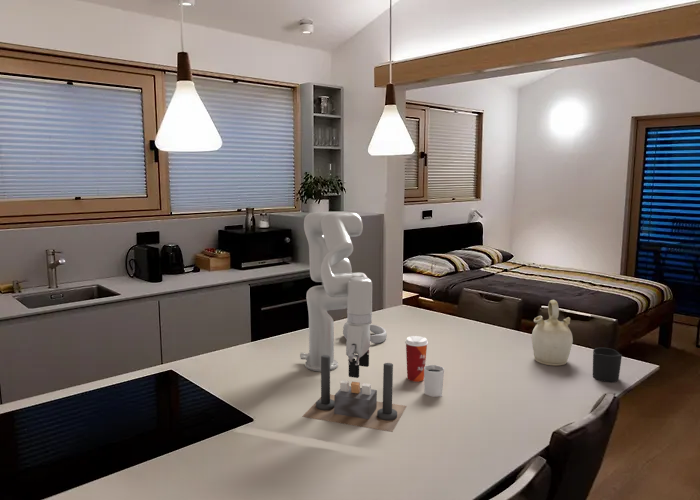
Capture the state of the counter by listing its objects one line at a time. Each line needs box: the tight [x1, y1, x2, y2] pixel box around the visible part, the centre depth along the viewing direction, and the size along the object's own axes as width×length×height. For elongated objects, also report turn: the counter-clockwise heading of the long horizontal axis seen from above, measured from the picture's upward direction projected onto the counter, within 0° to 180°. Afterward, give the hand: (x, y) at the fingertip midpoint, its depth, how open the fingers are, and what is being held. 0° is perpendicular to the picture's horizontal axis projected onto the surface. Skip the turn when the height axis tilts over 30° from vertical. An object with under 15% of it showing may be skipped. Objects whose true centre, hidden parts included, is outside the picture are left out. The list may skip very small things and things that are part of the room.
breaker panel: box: [302, 385, 408, 433], centre depth 163 cm, size 28×18×8 cm, turn 71°
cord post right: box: [377, 362, 397, 421], centre depth 159 cm, size 6×6×16 cm
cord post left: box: [315, 355, 334, 411], centre depth 166 cm, size 6×6×16 cm
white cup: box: [423, 364, 445, 398], centre depth 177 cm, size 7×7×10 cm
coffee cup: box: [404, 335, 429, 383], centre depth 193 cm, size 8×8×15 cm
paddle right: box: [361, 382, 372, 395], centre depth 161 cm, size 2×1×3 cm, turn 71°
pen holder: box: [592, 347, 623, 383], centre depth 195 cm, size 9×9×10 cm
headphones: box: [342, 321, 388, 344], centre depth 240 cm, size 18×8×20 cm
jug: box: [531, 299, 574, 367], centre depth 212 cm, size 15×16×25 cm
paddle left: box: [339, 379, 350, 392], centre depth 163 cm, size 2×1×3 cm, turn 71°
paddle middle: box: [350, 381, 361, 394], centre depth 162 cm, size 2×1×3 cm, turn 71°
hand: (358, 371), depth 165 cm, fingers open, 9 cm apart
